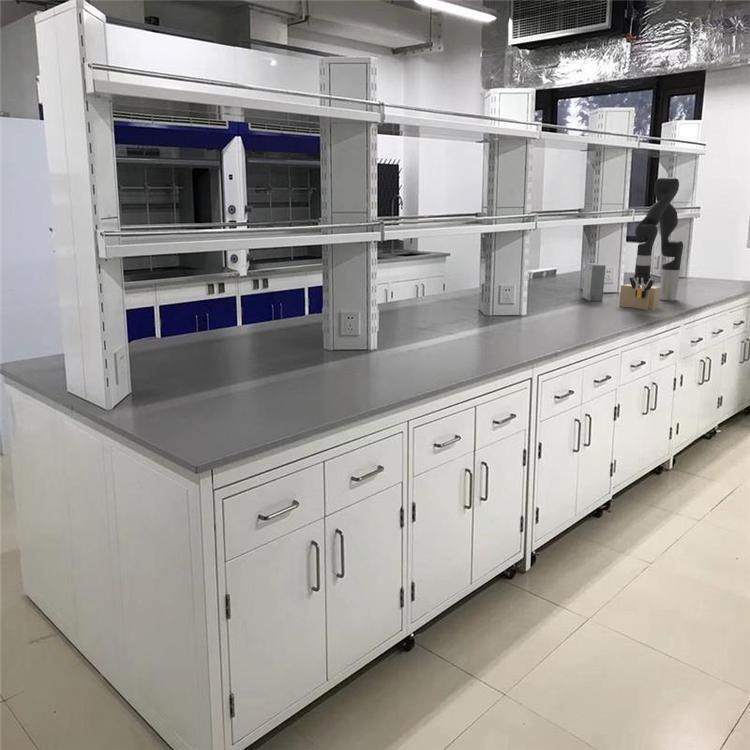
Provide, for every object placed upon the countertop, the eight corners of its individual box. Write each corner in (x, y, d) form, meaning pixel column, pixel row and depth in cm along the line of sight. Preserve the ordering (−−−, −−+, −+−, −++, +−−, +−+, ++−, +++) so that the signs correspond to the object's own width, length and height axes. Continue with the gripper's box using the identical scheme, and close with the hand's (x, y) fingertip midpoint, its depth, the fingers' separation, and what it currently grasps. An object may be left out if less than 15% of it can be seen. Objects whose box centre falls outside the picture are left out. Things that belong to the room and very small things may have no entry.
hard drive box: (602, 301, 400) (606, 265, 395) (589, 301, 400) (592, 265, 395) (595, 297, 415) (598, 262, 410) (581, 297, 415) (584, 262, 410)
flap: (620, 305, 383) (622, 284, 380) (647, 309, 371) (650, 288, 368) (615, 306, 380) (617, 285, 377) (642, 310, 368) (644, 289, 365)
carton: (625, 304, 391) (627, 283, 388) (658, 307, 380) (660, 286, 377) (619, 306, 384) (620, 285, 381) (653, 309, 373) (655, 288, 370)
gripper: (660, 264, 362) (656, 298, 366) (635, 262, 372) (632, 295, 377) (651, 265, 357) (648, 300, 362) (627, 263, 368) (624, 296, 373)
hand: (640, 297), depth 369 cm, fingers closed on flap, 2 cm apart
